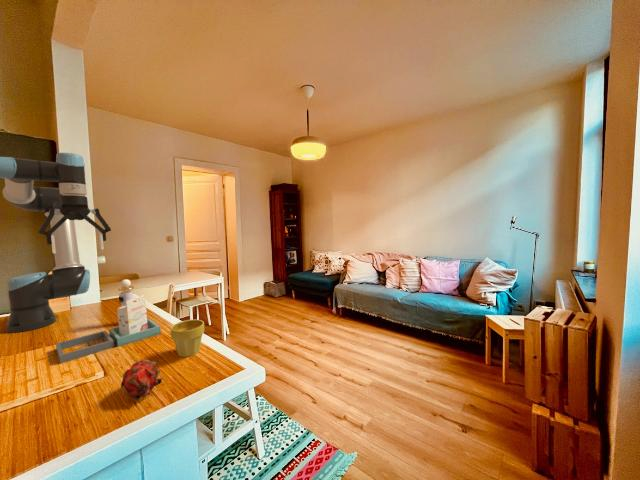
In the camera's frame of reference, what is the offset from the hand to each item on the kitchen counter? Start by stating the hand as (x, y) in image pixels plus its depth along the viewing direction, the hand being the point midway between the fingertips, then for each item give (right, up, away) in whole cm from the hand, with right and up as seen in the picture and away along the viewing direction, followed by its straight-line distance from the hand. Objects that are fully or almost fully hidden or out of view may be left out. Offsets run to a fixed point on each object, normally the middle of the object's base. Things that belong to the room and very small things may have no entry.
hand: (79, 251), depth 101 cm
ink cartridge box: (+18, -33, +4) cm, 38 cm away
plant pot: (+48, -35, -10) cm, 60 cm away
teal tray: (+18, -34, +5) cm, 39 cm away
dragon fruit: (+46, -36, -31) cm, 66 cm away
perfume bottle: (+6, -34, +18) cm, 38 cm away
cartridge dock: (+8, -35, -6) cm, 36 cm away
